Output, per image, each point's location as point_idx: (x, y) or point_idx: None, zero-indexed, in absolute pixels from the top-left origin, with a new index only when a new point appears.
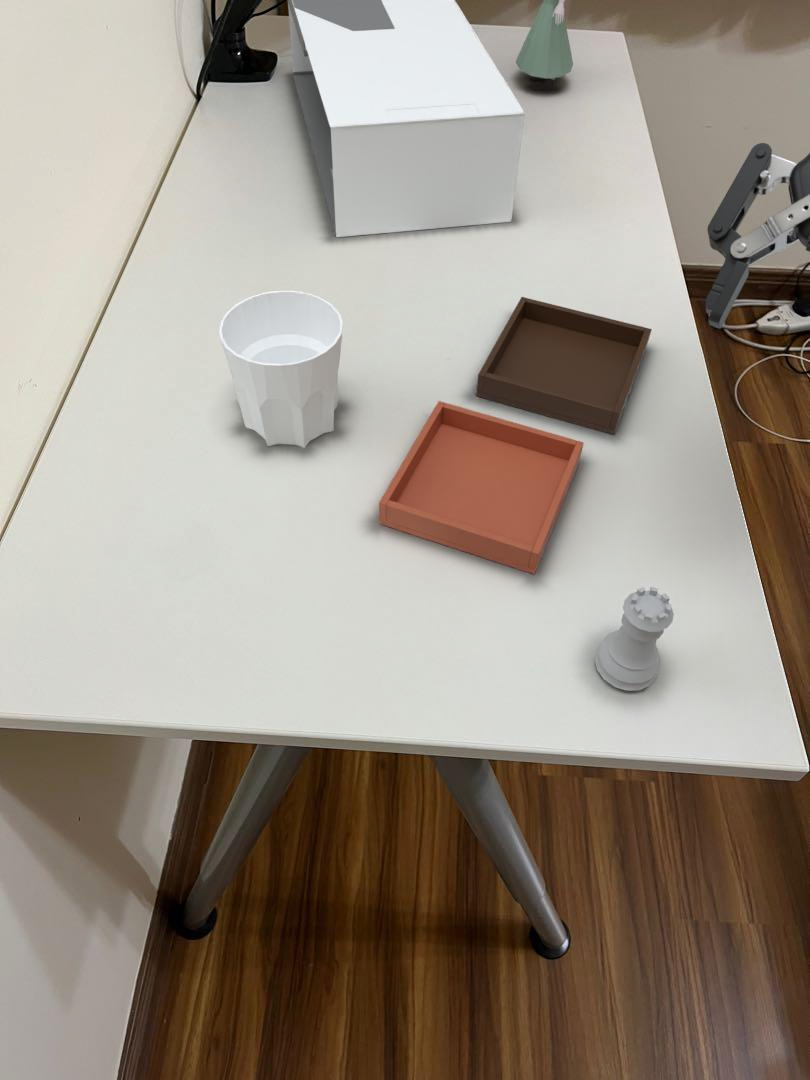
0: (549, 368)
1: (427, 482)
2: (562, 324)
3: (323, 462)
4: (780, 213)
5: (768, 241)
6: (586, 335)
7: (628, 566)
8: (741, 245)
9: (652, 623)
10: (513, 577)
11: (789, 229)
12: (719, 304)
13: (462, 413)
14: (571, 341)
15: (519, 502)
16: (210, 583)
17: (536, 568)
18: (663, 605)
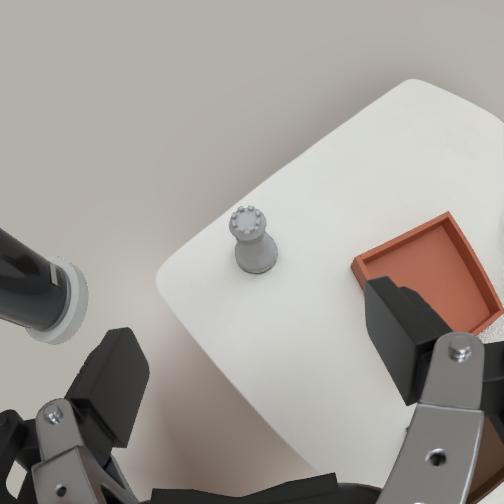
0: (483, 431)
1: (453, 264)
2: (501, 470)
3: (494, 231)
4: (473, 441)
5: (427, 396)
6: (482, 482)
7: (309, 325)
8: (464, 344)
9: (237, 211)
10: (358, 254)
11: (406, 435)
12: (387, 284)
13: (489, 318)
14: (487, 467)
15: None
16: (440, 140)
17: (352, 267)
18: (239, 226)
